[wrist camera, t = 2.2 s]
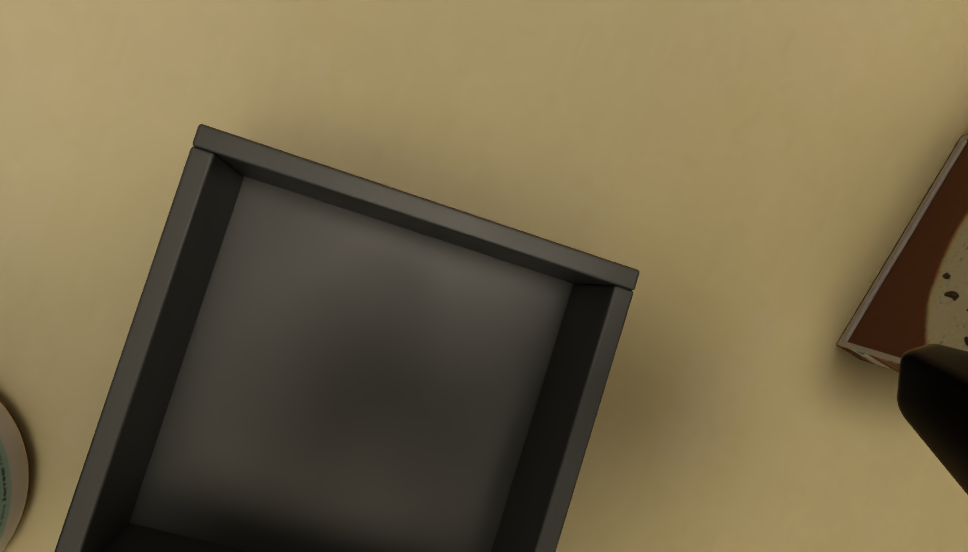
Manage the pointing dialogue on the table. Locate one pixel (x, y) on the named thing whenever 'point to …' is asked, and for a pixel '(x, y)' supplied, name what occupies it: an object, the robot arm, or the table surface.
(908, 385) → the robot arm
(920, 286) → the food container
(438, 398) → the dark gray square tray
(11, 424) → the pill bottle
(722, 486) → the table surface
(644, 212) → the table surface
